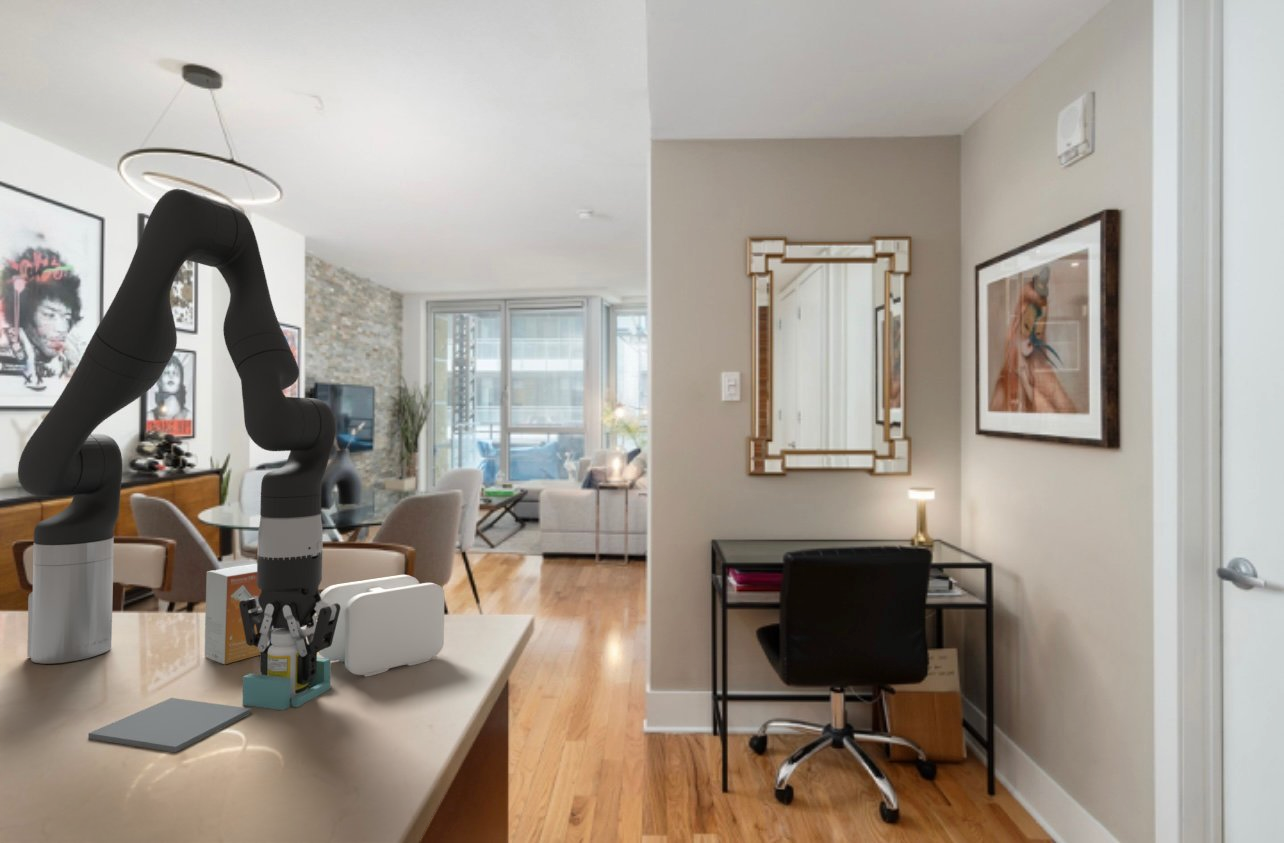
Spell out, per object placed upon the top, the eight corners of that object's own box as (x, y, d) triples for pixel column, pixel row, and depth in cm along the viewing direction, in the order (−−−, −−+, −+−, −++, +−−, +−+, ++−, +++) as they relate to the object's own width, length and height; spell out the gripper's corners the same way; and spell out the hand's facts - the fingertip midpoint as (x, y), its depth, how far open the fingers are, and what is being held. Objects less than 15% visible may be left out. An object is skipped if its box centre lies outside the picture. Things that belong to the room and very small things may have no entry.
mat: (88, 738, 74) (88, 733, 74) (171, 702, 84) (171, 697, 84) (175, 752, 71) (175, 746, 71) (250, 713, 81) (250, 708, 81)
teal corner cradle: (235, 703, 83) (236, 675, 83) (286, 679, 92) (286, 653, 92) (289, 711, 82) (290, 682, 82) (336, 685, 90) (336, 659, 90)
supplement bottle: (304, 684, 90) (305, 622, 90) (312, 695, 86) (313, 631, 86) (263, 693, 87) (264, 628, 87) (270, 705, 83) (271, 638, 83)
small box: (224, 666, 96) (226, 576, 97) (203, 657, 100) (205, 570, 100) (280, 650, 103) (281, 566, 103) (258, 642, 107) (260, 561, 107)
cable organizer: (342, 684, 90) (343, 599, 90) (315, 663, 98) (317, 584, 98) (444, 659, 101) (445, 582, 101) (413, 642, 108) (414, 570, 108)
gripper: (221, 551, 85) (218, 685, 85) (317, 558, 81) (314, 697, 81) (267, 542, 92) (264, 665, 92) (357, 547, 89) (354, 675, 89)
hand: (288, 679), depth 87 cm, fingers closed on supplement bottle, 4 cm apart
